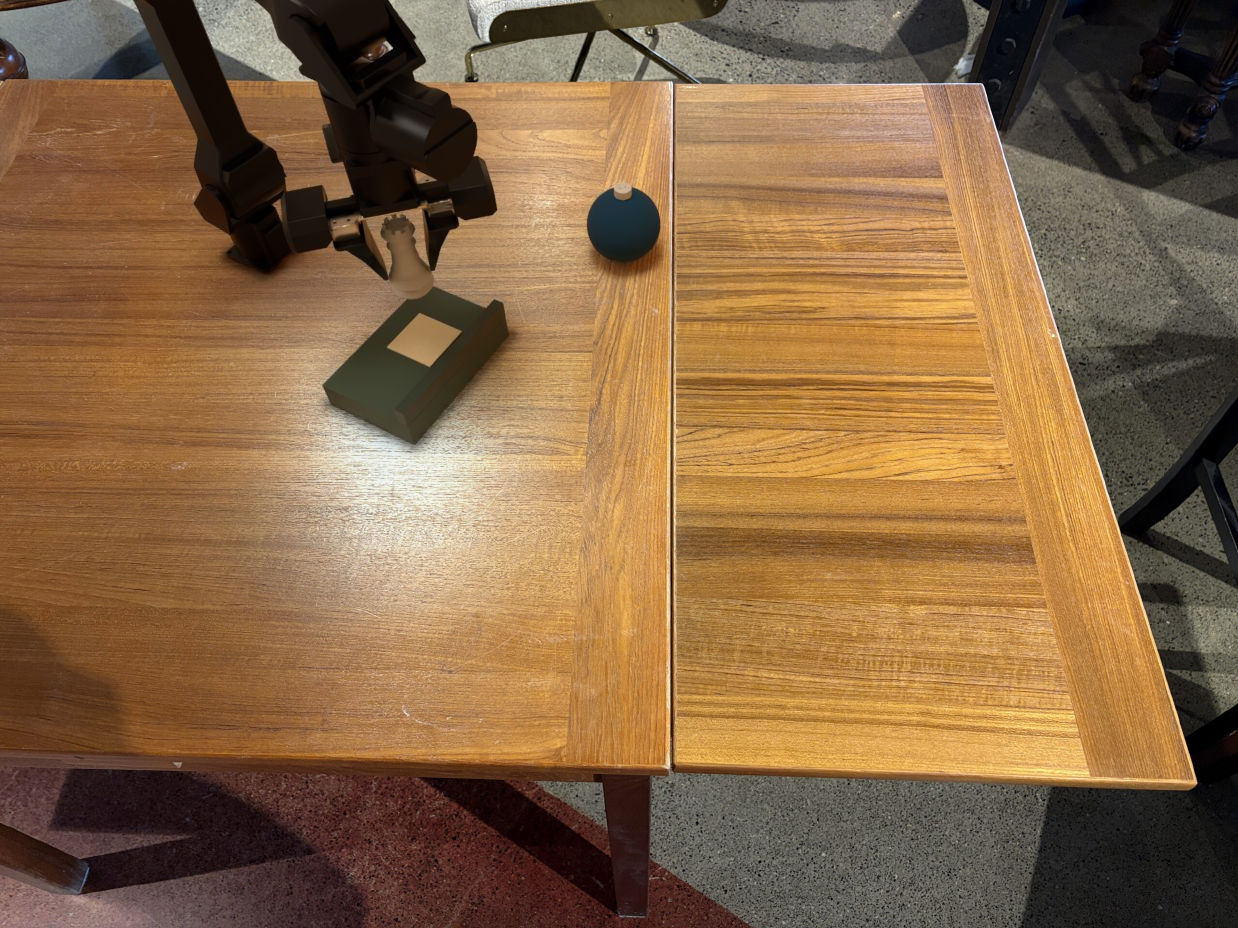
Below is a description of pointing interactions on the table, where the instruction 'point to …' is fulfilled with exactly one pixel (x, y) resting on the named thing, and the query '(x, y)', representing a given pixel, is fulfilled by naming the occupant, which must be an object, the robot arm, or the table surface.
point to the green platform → (418, 362)
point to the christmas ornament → (623, 223)
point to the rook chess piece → (405, 259)
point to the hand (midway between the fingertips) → (409, 272)
